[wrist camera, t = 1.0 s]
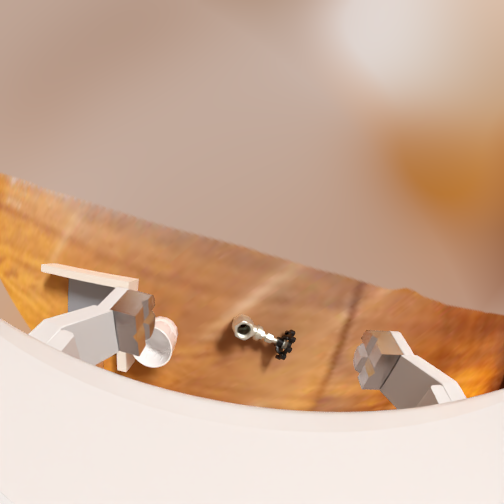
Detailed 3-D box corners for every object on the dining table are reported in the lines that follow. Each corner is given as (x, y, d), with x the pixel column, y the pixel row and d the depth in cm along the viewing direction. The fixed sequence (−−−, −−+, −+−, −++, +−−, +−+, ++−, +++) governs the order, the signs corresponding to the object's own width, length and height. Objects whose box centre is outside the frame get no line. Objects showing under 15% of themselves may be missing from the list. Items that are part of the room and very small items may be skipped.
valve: (225, 331, 54) (276, 353, 55) (225, 341, 47) (282, 365, 48) (239, 303, 54) (291, 327, 55) (241, 309, 47) (299, 336, 48)
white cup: (138, 335, 52) (122, 351, 42) (155, 306, 52) (141, 317, 42) (169, 355, 52) (159, 375, 42) (187, 327, 53) (180, 342, 43)
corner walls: (134, 361, 52) (126, 372, 46) (55, 339, 49) (42, 346, 43) (138, 279, 52) (128, 281, 46) (56, 263, 50) (41, 264, 44)
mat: (124, 341, 51) (124, 342, 51) (68, 327, 50) (68, 327, 50) (126, 287, 52) (126, 288, 51) (69, 276, 50) (69, 276, 50)
